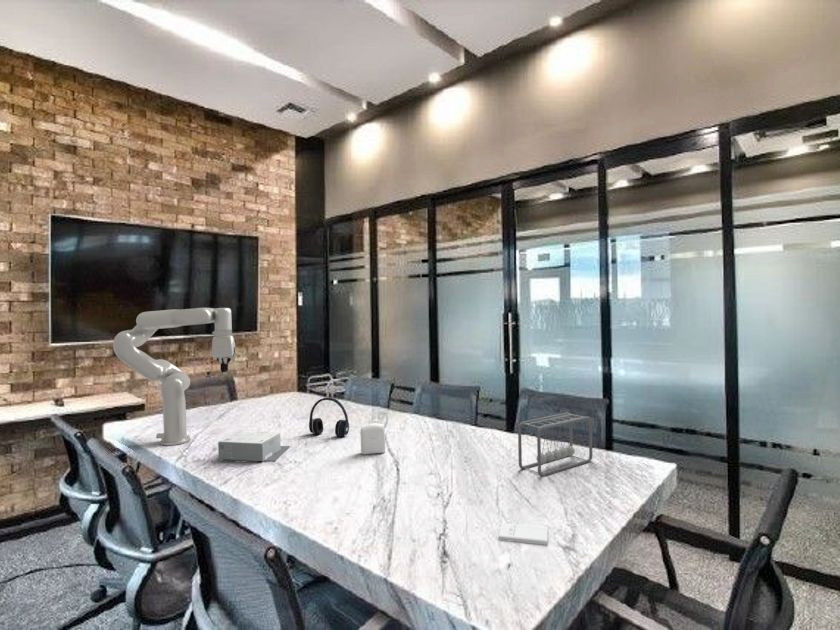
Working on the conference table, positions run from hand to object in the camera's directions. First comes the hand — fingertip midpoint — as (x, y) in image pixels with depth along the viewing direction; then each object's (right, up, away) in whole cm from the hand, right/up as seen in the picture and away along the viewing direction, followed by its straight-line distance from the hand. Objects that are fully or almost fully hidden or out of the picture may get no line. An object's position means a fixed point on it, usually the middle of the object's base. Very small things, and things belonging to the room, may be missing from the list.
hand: (224, 371), depth 225 cm
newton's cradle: (+146, -30, -47) cm, 156 cm away
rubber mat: (+24, -32, -25) cm, 47 cm away
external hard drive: (+121, -32, -100) cm, 161 cm away
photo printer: (+74, -31, -26) cm, 84 cm away
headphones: (+50, -31, +2) cm, 59 cm away
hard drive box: (+12, -28, -25) cm, 40 cm away
